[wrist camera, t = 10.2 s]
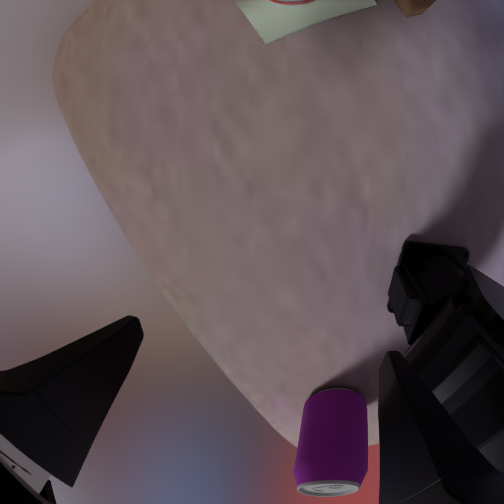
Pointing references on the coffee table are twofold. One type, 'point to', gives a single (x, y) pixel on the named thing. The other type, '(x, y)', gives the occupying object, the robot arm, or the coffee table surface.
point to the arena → (310, 14)
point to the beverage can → (332, 444)
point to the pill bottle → (292, 2)
